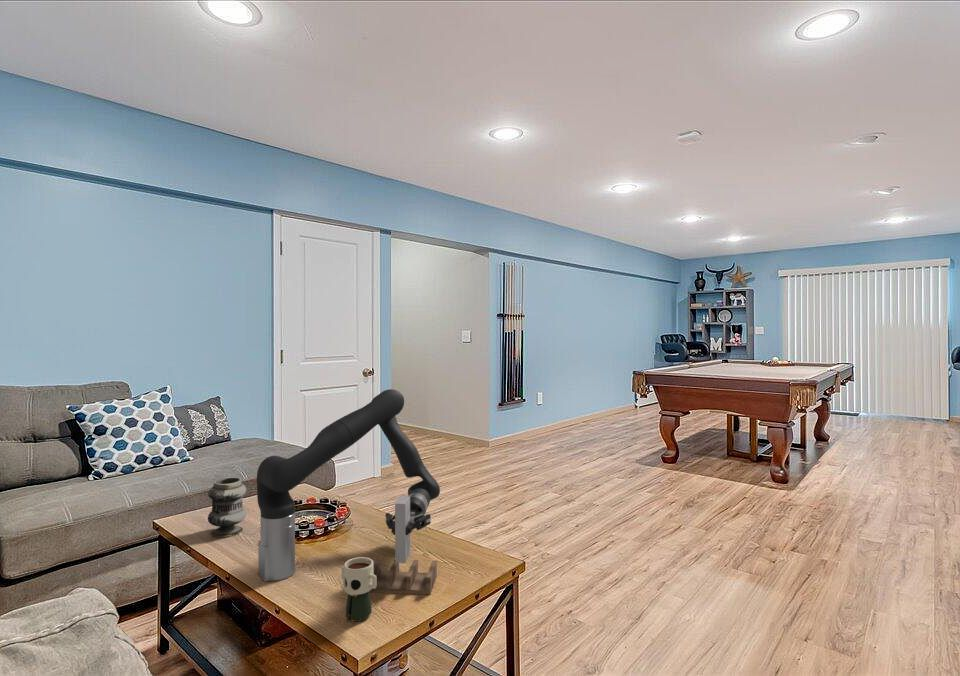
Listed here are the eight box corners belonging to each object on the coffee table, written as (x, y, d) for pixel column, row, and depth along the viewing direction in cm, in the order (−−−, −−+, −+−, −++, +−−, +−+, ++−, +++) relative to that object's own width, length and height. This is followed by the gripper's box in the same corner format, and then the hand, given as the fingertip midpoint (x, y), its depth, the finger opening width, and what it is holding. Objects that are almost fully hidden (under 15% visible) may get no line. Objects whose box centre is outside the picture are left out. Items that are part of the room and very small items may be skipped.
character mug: (331, 617, 127) (331, 563, 127) (351, 603, 133) (351, 553, 133) (365, 629, 122) (365, 574, 121) (385, 615, 128) (385, 562, 128)
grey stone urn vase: (222, 541, 172) (222, 487, 171) (199, 534, 177) (199, 481, 177) (254, 529, 182) (254, 478, 182) (232, 523, 188) (232, 473, 188)
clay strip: (405, 562, 141) (405, 504, 140) (395, 562, 141) (395, 503, 140) (410, 553, 147) (410, 496, 146) (400, 552, 147) (400, 496, 146)
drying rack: (430, 594, 138) (430, 577, 138) (366, 591, 139) (366, 574, 139) (436, 576, 148) (436, 560, 148) (376, 574, 149) (376, 558, 149)
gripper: (390, 495, 158) (374, 516, 141) (436, 497, 157) (426, 518, 140) (390, 520, 158) (374, 544, 141) (436, 521, 157) (426, 546, 140)
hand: (400, 531), depth 141 cm, fingers closed on clay strip, 2 cm apart
